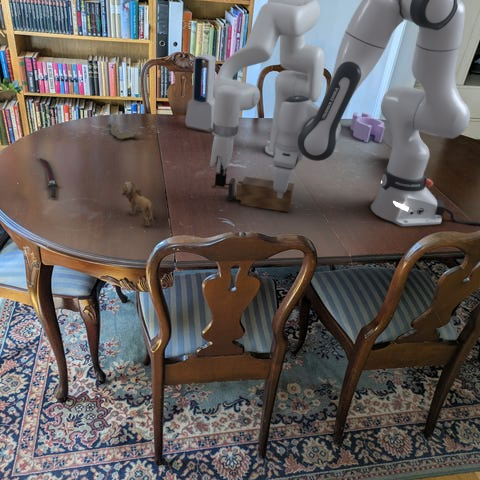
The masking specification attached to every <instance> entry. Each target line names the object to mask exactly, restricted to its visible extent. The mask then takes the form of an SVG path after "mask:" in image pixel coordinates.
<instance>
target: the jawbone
mask: <svg viewBox="0 0 480 480" xmlns="http://www.w3.org/2000/svg"><path fill="white" fill-rule="evenodd" d="M109 125H110V126H111V129H110V133H111V134H112V135H113V136H114V137H116V139H118V140H125V139H129V138H133V139H136V140H137V135H139V136H141V135H143V132H142V131H141V132H140V131H132V132H129V133H126V132H125V133H124V132H122V131H120V129H119V126H118V127H117V126H116V125H115V123H114V121H109Z"/></svg>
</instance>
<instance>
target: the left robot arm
mask: <svg viewBox="0 0 480 480" xmlns="http://www.w3.org/2000/svg"><path fill="white" fill-rule="evenodd" d="M320 16H321V7H320V3H319V2H318V1H317V0H267V1H266V2H265V3H264V4H263V5H262V6H261V7H260V9H259V11H258V13H257V16H256V18H255V20H254V23H253V25H252V28H251V30H250V33H249V35H248V38H247V41H246V43H245V44H244V45H243V47H241V48H240V49H238V50H236V51H235V52H233V54H231V55H230V56H229V57H228V58H226V60H225V61H224V62H223V63H222V65H221V66H220V68H219V70H218V73H217V75H216V77H215V79H214V87H213V99H215V103H214V116H213V130H212V131H211V133H212V135H213V140H212V147H211V154H210V163H209V164H210V165H209V167H210V168H214V167H215V179H214V181H215V185H216V186H222V187H226V186H227V185H226V183H227V177H228V173H227V172H228V166H229V164H230V163H231V161H232V158H233V153H234V141H235V140H234V139H235V138H237V136H238V130H239V124H240V123H239V121H240V113H241V111H250V110H252V109H254V108H255V107H256V106H258V104H259V103H260V99H261V92H260V89H259V88H258V86H256V85H255V84H252V83H248V82H244V81H241V80H237V79H234V77H235V75H236V74H237V73H238V72H239V71H241V70H242V69H243V70H244V69H245V68H247V67H252V66H255V65H258V64H259V65H260V64H262V63H265V62H268V61H269V60H271V58H272V56H273V53H274V51H275V47H276V45H277V43H278V40H279V64H280V66H281V68H283V69H284V70H281V71H280V72H278V74H277V75H276V77H275V81H274V82H275V83H274V93H275V94H274V96H275V97H274V107H273V114H272V115H273V116H272V124H271V130H270V138H269V144H266V146H265V147H264V148H265V149H264V151H265V153H266V154H267V155H269V156H272V157H273V150H274V143H275V138H276V136H277V132H278V129H277V123H278V117H279V113H280V109H281V105H282V103H283V102H284V101H285V100H286V99H287V98H289V97H292V96H305V97H308V98H310V99H311V101H312V102H313V103H314V104H315V103H316V102H317V101H319V99H320V97H321V95H322V90H323V81H324V71H325V58H326V57H325V52H324V50H323V49H322V48H321V47H320V46H318V45H313V44H307V43H306V41H305V39H306V37H305V36H306V33H308V32H309V31H311V30H312V29H313V28H314V27H315V26H316V25H317V23H318V21H319V19H320Z"/></svg>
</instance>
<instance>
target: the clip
mask: <svg viewBox="0 0 480 480" xmlns="http://www.w3.org/2000/svg"><path fill="white" fill-rule="evenodd" d="M358 114H359V113H358V112H353V114H352V118H351V122H350V126H349V129H350V130H351V131H353V132H352V136H353V137H354V138H356V139H358V140H361V141H363V142H364V143H368V142H369V140H370V135H372V136H374V139H373V140H374V142H376V143H382V140H383V137H384V132H385V129H386V127H385V122H384V121H383V120H380V119H377V118H374V117H372V115H371V114H369V113H366V112H361V115H358Z"/></svg>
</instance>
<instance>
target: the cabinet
mask: <svg viewBox="0 0 480 480" xmlns="http://www.w3.org/2000/svg"><path fill="white" fill-rule="evenodd" d="M242 181H243V183H242V191H241V200H240V206H246V207H254V208H260V209H266V210H272V211H279V212H280V211H281V212H287V213H290V211H291V207H292V200H293V194H294V188H295V187H294V186H295V183H292V182H289V183H288V186H287V189H286V192H285V193H284V194H283V198H277V191H274V188H273V183H274V180H271V179H264V178H257V177H250V176H245V177H244V179H243V180H242Z"/></svg>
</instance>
